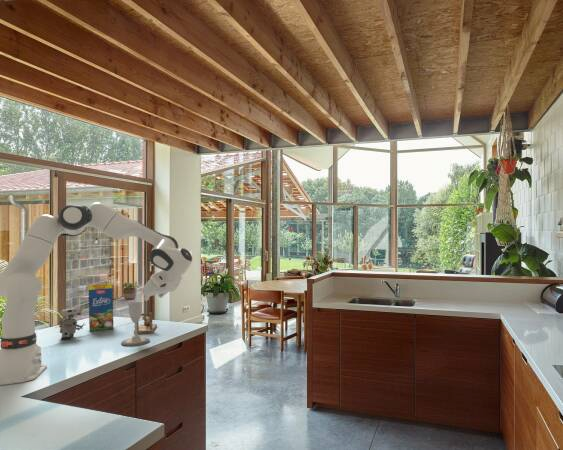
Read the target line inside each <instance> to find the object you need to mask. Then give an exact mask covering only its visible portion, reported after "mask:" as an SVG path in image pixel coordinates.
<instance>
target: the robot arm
mask: <svg viewBox="0 0 563 450" xmlns="http://www.w3.org/2000/svg"><path fill="white" fill-rule="evenodd" d="M87 227H88V228H89V227H91V228H94V229H97V230H98V231H100V232H101V233H102V234H104V235H106V236H107V237H110V238H111V239H114V240H123V239H127V238H130V237H136V238H139V239H141V240H143V241H145V242H147V243H149V244H150V245H153V247H152V249H151V251H150V252H149V254H148V259H149V262H150V264H152V265H153V267H156V268H158V269H160V270H159V271H158V272H155V273H153V274H152V275H151V276H150V277H149V278H150V279H149V280H148V281H147V282H146V283H145V284H144V286H143V287H142V289H141V293H142V295H143V296H144V297H143V300H144V302H147V301H149V300H150V299H151V298H150V297H152V296H158V298H163V297H164V296H165V295H166V294H168V293H171V292H174V291H176V290H177V289H178V287H179V285H180V284H181V280H182V276H183V275H184V274H185V273H187V271H188V269H189V267H190V266H191V265H192V263H193V255H192V254H191V252H190V251H189V250H187V249H186V248H183V247H182V248H179V244H178V241H177V240H176V239H175V238H174V237H173V236H171V235H167V234H163V233H161V232H158V231H157V230H155V229H152V227H149V226H147V225H145V224H144V223H142V222H139V221H137V220H134V219H132V218H129V217H128V216H125V215H124V214H122V213H120V212H119V211H117V210H116V209H114V208H113V207H110V206H109V205H106V204H104V203H101V202H99V201H97V202H93V203H91V204H90V205H89V206H86V205H78V204H67V205H66V206H63V207H62V208H61V209H60V211H59V213H58V215H50V214H41V215H38V216H37V217H36V218H35V220H33V222H32V224H31V225H30V227H29V228H28V230H27V231H26V234H25V235H24V237H23V239H22V241H21V243H20V245H19V247H18V249H17V251H16V253H15V254H14V255H13V257H12V259H11V260H10V261H9V263H8V264H7V265H6V267H5V268H4V269H3V271H2V272H1V274H0V297H1V298H4V299H6V300H5V301H6V302H5V307H4V311H3V314H2V315H1V337H0V386H3V385H11V384H12V385H13V384H19V383H24V382H29V381H32V380H35V379H37V378H38V377H39V375H41V373H43V372H44V371H45V370H46V369H47V368H48V365H47V364H46V363H45V364H43V362H42V361H43V360H42V347H41V346H39V344H37V333H36V325H35V324H36V319H35V317H36V314H35V313H36V308H37V304H38V299H39V295H40V294H41V293H42V290H43V283H42V281H41V280H40V278H39V277H37V275H36V274H37V273H38V272H39V270H40V269H41V268H42V267H43V266H44V265H45V264H46V263H47V261H48V260H49V257H50V254H51V252H52V251H53V249H54V246H55V244H56V242H57V241H58V238H59V236H65V237H66V236H67V237H77V236H80V235H82V234H84V232H85V231H86V229H87Z"/></svg>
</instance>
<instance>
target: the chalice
mask: <svg viewBox="0 0 563 450" xmlns="http://www.w3.org/2000/svg"><path fill="white" fill-rule="evenodd" d="M127 305H128V315H129V317H130V319H131V321H132V323H134V326H133V327H134V330H133V332H134V331H135V334H133V335H132V336H131V338H132V339H131V338H130V339H131V342H138V341H141V338H142V337H141V336H140V334H137V331H138V330H137V327H138V326H137V322H138V323H139V321H140V319H141V317H142V316H141V314H142V313H143V302H142V301H140V302H139V301H133V302H129V303H127Z"/></svg>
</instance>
